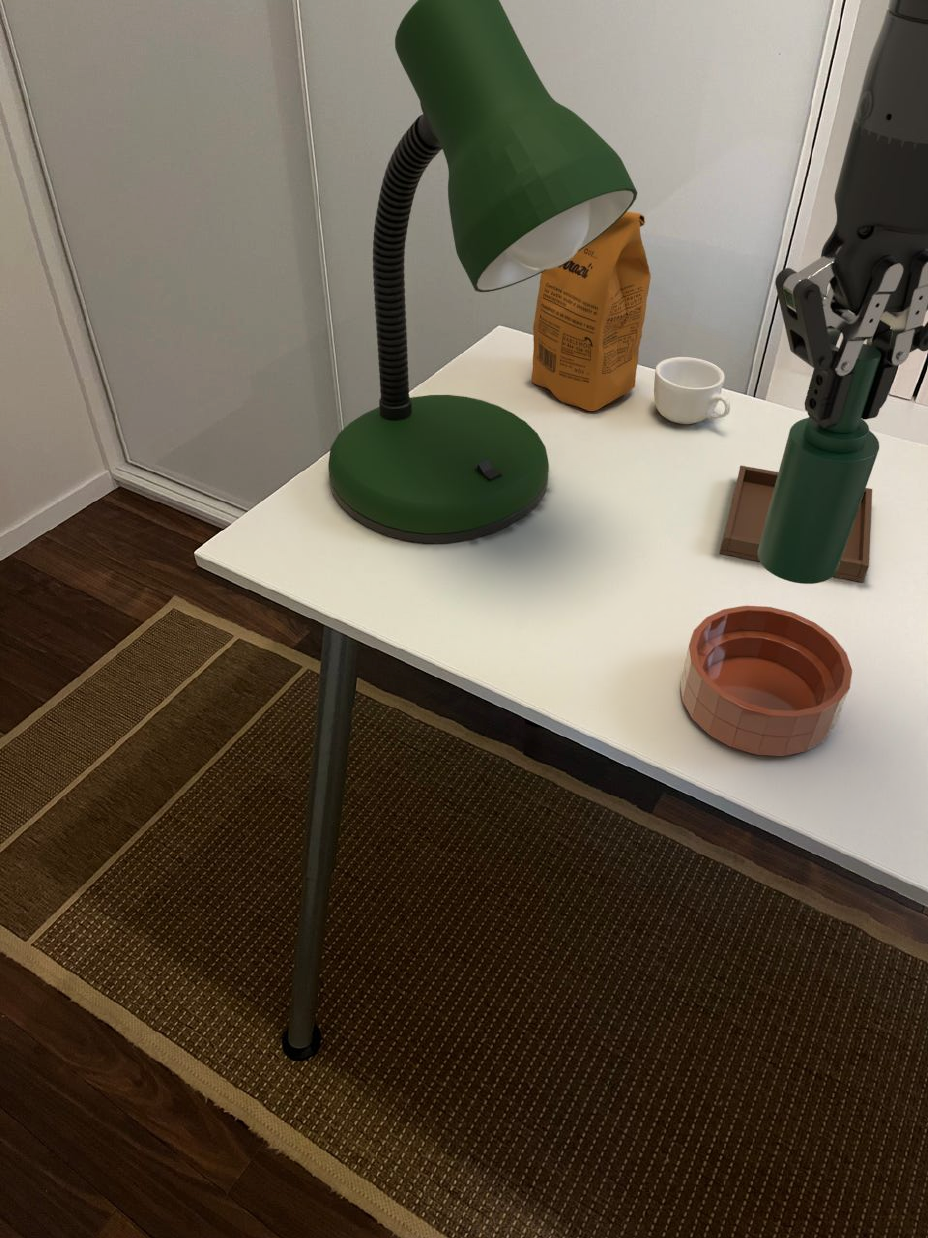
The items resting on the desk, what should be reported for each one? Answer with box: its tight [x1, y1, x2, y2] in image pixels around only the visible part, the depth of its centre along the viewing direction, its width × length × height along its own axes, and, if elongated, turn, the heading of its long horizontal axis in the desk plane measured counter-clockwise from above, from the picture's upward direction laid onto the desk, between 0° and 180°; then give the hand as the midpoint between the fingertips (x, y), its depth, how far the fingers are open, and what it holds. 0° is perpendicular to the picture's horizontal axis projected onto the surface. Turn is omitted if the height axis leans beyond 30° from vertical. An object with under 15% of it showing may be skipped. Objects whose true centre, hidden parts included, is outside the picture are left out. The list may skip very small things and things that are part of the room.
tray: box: [719, 465, 873, 583], centre depth 93 cm, size 13×13×2 cm
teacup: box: [653, 356, 731, 425], centre depth 108 cm, size 10×8×5 cm
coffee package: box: [531, 211, 652, 412], centre depth 108 cm, size 10×12×22 cm
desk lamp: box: [327, 0, 638, 544], centre depth 83 cm, size 31×23×45 cm
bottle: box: [758, 343, 881, 585], centre depth 62 cm, size 6×6×16 cm
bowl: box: [679, 605, 853, 757], centre depth 75 cm, size 12×12×5 cm
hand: (841, 415), depth 60 cm, fingers closed on bottle, 2 cm apart
